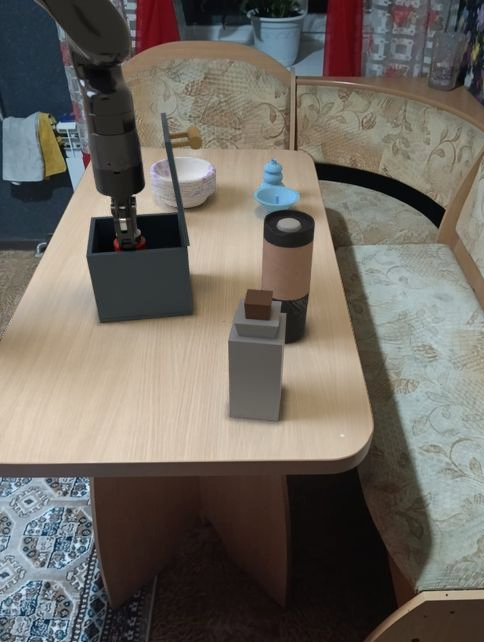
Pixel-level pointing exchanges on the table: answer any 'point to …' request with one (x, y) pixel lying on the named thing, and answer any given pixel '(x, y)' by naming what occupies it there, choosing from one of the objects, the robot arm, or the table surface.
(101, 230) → the chest
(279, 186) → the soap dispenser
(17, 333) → the table surface
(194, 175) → the paper bowls
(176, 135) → the lid
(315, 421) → the table surface
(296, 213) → the travel mug
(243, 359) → the perfume bottle
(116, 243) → the red bottle
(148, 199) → the table surface
